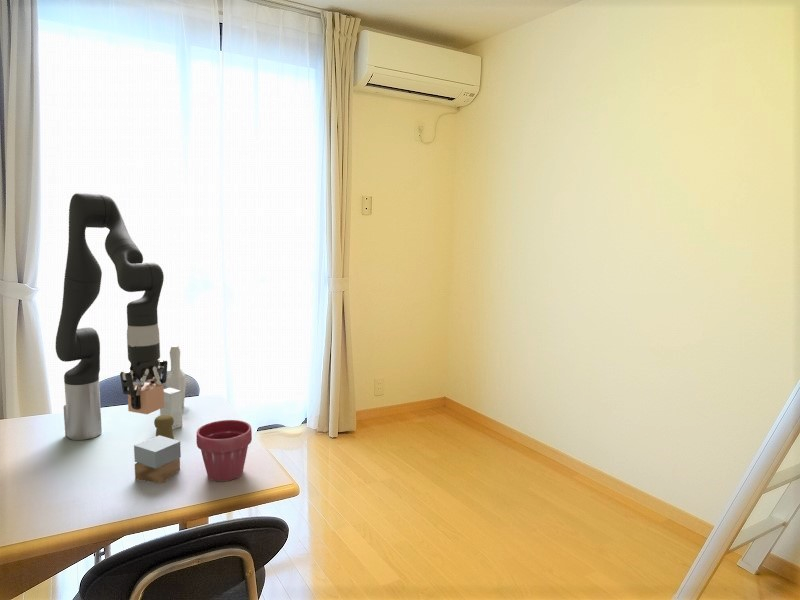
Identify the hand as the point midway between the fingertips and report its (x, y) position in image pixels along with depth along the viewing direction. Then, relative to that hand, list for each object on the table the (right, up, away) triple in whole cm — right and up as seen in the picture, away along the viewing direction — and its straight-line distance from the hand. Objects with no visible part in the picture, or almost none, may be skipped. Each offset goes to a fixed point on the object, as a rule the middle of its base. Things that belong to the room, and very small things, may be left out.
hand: (146, 404), depth 148 cm
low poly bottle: (-14, -11, +55) cm, 58 cm away
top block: (+1, -15, +4) cm, 16 cm away
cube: (0, -1, 0) cm, 1 cm away
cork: (-3, -17, +18) cm, 25 cm away
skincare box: (-9, -14, +38) cm, 41 cm away
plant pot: (+19, -20, +6) cm, 28 cm away
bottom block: (+1, -20, +5) cm, 20 cm away
